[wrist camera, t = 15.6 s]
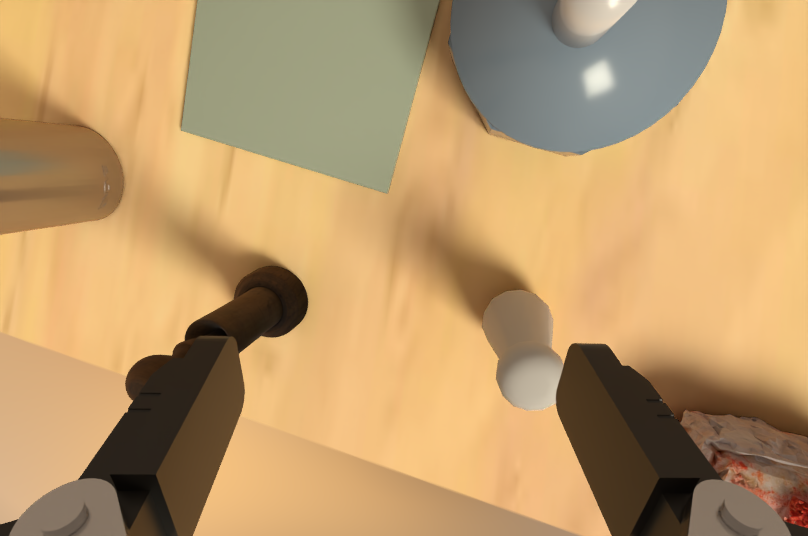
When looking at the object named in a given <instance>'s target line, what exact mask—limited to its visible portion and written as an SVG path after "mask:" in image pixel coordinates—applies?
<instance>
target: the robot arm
mask: <svg viewBox="0 0 808 536" xmlns="http://www.w3.org/2000/svg"><path fill="white" fill-rule="evenodd" d="M122 192H123V174H122V168H121V165H120V163H119V160H118V157H117V156H116V154H115V152H114V150H113V149H112V147H111V146H110V145H109V144H108V143H107V141H106V140H105V139H104V138H102V137H101V136H100V135H99V134H98V133H96V132H94V131H92V130H91V129H89V128H85V127H82V126H75V125H65V124H55V123H44V122H36V121H25V120H14V119H4V118H0V235H2V234H8V233H15V232H22V231H28V230H35V229H42V228H48V227H55V226H63V225H69V224H75V223H82V222H88V221H95V220H100V219H102V218H105V217H107V216H108V215H109V214H111V213H112V212H113V211H114V210H115V208H116V207H117V206H118V204H119V202H120V199H121V197H122ZM244 394H245V388H244V381H243V375H242V370H241V364H240V359H239V353H238V348H237V343H236V340H235V338H234V337H228V336H199V337H198V338H196V340H195V341H194V343H193V344H192V346H191V347H190V349H189V350H188V352H187V354H186V355H185V357H184V358H172V359H171V360H170V361H168V362H167V363H166V364H164V365H163V366H162V367H161V368H159V369H158V370H157V371H155V372H154V373H153V374H152V375H151V376H150V378H149V379H148V381H147V382H146V384H145V385H144V386H143V388H142V389H141V391H140V392H139V396H136V398H135V399H134V401H133V402H132V404H131V405H130V406H129V408H128V412H127V413H125V414H124V415H123V417H122V418H121V419H120V421H119V422H118V424H117V425H116V427H115V428H114V429H113V431H112V433H111V434H110V435H109V437H108V438H107V439H106V441H105V442H104V444H103V445H102V447H101V448H100V450H99V451H98V452H97V454H96V455H95V457H94V458H93V459H92V461H91V462H90V464H89V465H88V467H87V469H85V471H84V473H83V474H82V475H81V476H80V478H79V479H78V480H77V481H73V482H70V483H67V484H65V485H62V486H60V487H58V488H56V489H54V490H52V491H50V492H49V493H47V494H46V495H44V496H43V497H41V498H40V499H39V500H37V501H36V502H35V503H34V504H33V505H31V506H30V507H29V508H28V509H27V510H26V511H25V512H24V513H23V514H22V515H21V517H20V518H19V519H17V520H14V521H11V522H8V523H5V524H0V536H193V533H194V531H195V528H196V526H197V523H198V521H199V518H200V515H201V513H202V510H203V508H204V505H205V503H206V500H207V498H208V495H209V493H210V490H211V488H212V485H213V483H214V480H215V478H216V475H217V472H218V470H219V467H220V465H221V462H222V460H223V457H224V455H225V452H226V449H227V447H228V444H229V442H230V439H231V437H232V434H233V432H234V429H235V427H236V424H237V421H238V419H239V417H240V414H241V411H242V408H243V403H244ZM662 400H663V399H662V398H661V397H660V395H659V394H658V393H657V391H656V390H655V389H654V387H653V386H652V385H651V383H650V382H649V381H648V380H647V379H645V378H644V377H643V376H641V375H640V374H639V373H638V372H636V371H635V370H634V369H632V368H631V367H630V366H622V365H621V363H620V362H619V360H618V359H617V357H616V356H615V355H614V353H613V352H612V350H611V349H610V348H609V347H608V346H607V345H606V344H582V343H574V344H572V345H571V346H570V347H569V349H568V352H567V356H566V359H565V363H564V366H563V369H562V373H561V376H560V380H559V383H558V387H557V391H556V406H557V411H558V415H559V417H560V420H561V422H562V424H563V426H564V429H565V431H566V433H567V436H568V438H569V440H570V442H571V445H572V447H573V449H574V451H575V454H576V456H577V458H578V460H579V463H580V465H581V467H582V469H583V472H584V474H585V476H586V478H587V481H588V483H589V485H590V488H591V490H592V492H593V494H594V497H595V499H596V501H597V503H598V506H599V508H600V510H601V512H602V515H603V517H604V519H605V521H606V524H607V526H608V528H609V531H610V533H611V535H612V536H808V528H806V527H803V526H799V525H796V524H792V523H789V522H785V521H783V520H782V519H781V518H780V516H779V515H778V514H777V513H776V512H775V511H774V510H773V509H772V508H771V507H770V506H769V505H768V504H767V503H766V502H765V501H763V500H762V499H761V498H759V497H758V496H756V495H755V494H753V493H752V492H750V491H748V490H746V489H745V488H743V487H741V486H738V485H736V484H733V483H730V482H727V481H723V480H722V479H721V477H720V476H719V475H718V473H717V472H716V471H715V469H714V468H713V467H712V465H711V464H710V463H709V461H708V460H707V459H706V457H705V456H704V454H703V453H702V452H701V450H700V449H699V448H698V446H697V445H696V444H695V442H694V441H693V440H692V438H691V437H690V436H689V434H688V433H687V432H686V430H685V429H684V428H683V426H682V425H681V424H680V422H679V421H678V420H677V419H674V414H673V413H672V412H671V410H670V409H669V408H668V406H667V405H666V404H665V403H663V402H662Z"/></svg>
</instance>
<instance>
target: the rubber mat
mask: <svg viewBox="0 0 808 536" xmlns="http://www.w3.org/2000/svg"><path fill="white" fill-rule="evenodd" d="M439 2H440V0H198V1H197V9H196V17H195V25H194V33H193V40H192V48H191V56H190V64H189V72H188V80H187V87H186V95H185V103H184V111H183V119H182V127H181V131H184V132H188V133H191V134H194V135H197V136H201V137H204V138H207V139H210V140H214V141H217V142H220V143H224V144H227V145H230V146H233V147H237V148H240V149H243V150H246V151H250V152H253V153H256V154H259V155H263V156H266V157H269V158H273V159H276V160H279V161H282V162H286V163H289V164H292V165H295V166H299V167H302V168H305V169H308V170H312V171H315V172H318V173H322V174H325V175H328V176H331V177H335V178H338V179H341V180H344V181H348V182H351V183H354V184H357V185H361V186H364V187H367V188H371V189H374V190H377V191H380V192H384V193H388V192H389V188H390V184H391V181H392V177H393V173H394V169H395V166H396V162H397V158H398V155H399V151H400V147H401V143H402V140H403V136H404V132H405V129H406V125H407V121H408V117H409V114H410V110H411V106H412V103H413V99H414V95H415V91H416V88H417V84H418V80H419V76H420V73H421V69H422V65H423V62H424V58H425V54H426V50H427V47H428V43H429V39H430V36H431V32H432V28H433V24H434V21H435V17H436V13H437V9H438V6H439Z"/></svg>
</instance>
